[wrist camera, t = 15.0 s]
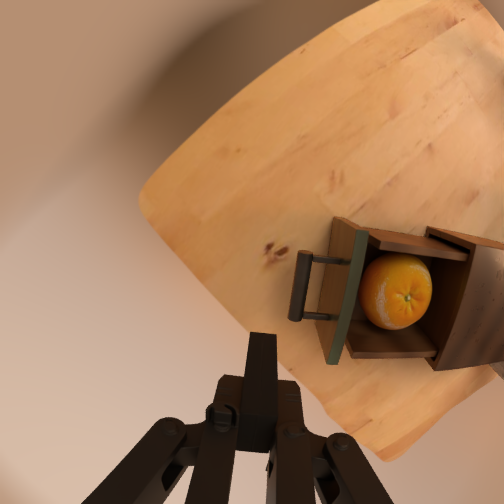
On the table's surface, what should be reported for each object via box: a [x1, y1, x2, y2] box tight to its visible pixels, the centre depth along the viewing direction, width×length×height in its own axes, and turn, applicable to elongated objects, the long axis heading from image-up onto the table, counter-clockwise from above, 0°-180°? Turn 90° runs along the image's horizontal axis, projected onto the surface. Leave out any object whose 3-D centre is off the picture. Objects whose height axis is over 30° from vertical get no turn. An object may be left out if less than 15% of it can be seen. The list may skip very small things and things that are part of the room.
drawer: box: [288, 217, 470, 365], centre depth 28 cm, size 19×13×9 cm
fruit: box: [358, 252, 432, 330], centre depth 28 cm, size 8×9×8 cm
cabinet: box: [424, 226, 504, 371], centre depth 28 cm, size 16×15×11 cm
